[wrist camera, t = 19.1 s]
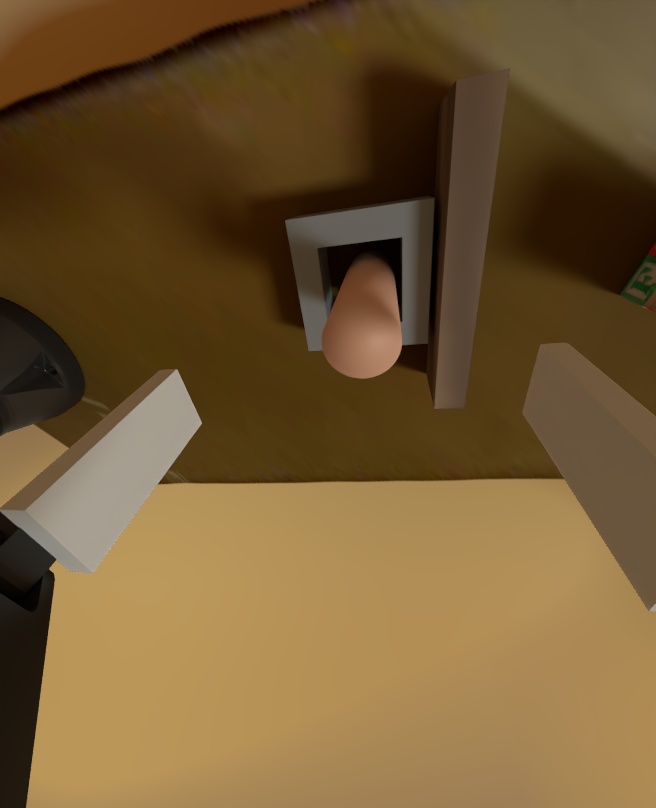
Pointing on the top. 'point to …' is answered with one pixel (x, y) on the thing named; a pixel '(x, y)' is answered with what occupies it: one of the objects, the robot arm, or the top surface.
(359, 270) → the dowel
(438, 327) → the wall
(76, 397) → the robot arm
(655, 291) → the stack of blocks
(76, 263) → the top surface
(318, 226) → the grey square frame
